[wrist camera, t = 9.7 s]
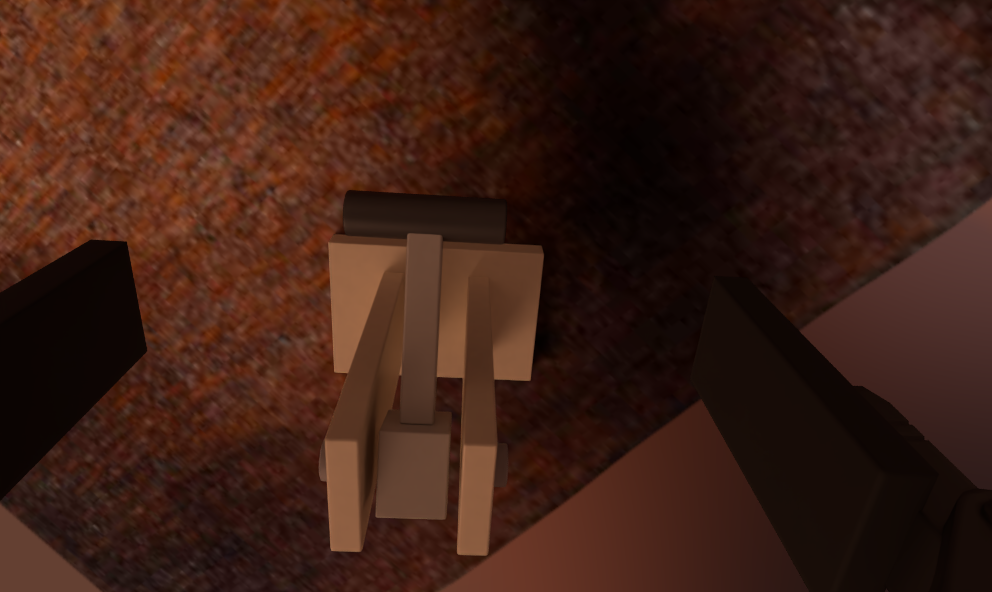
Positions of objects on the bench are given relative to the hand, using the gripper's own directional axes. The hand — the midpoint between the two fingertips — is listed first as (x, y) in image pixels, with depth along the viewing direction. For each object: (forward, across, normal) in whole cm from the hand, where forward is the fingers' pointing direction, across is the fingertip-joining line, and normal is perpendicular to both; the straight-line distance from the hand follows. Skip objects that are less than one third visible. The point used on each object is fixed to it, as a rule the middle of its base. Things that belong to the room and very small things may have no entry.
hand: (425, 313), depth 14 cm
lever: (+6, 0, -4) cm, 7 cm away
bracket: (+16, -1, -7) cm, 17 cm away
